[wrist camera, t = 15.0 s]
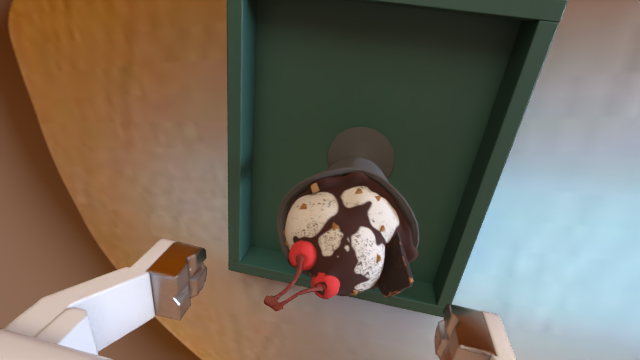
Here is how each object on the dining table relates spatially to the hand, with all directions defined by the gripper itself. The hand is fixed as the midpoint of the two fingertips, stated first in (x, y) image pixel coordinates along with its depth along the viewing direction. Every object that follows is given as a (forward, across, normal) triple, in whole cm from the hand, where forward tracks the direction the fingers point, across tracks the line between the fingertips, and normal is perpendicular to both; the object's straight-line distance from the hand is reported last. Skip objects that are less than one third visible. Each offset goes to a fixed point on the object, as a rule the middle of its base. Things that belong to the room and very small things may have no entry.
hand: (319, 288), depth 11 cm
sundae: (+15, 0, +1) cm, 15 cm away
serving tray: (+15, 0, +1) cm, 15 cm away
